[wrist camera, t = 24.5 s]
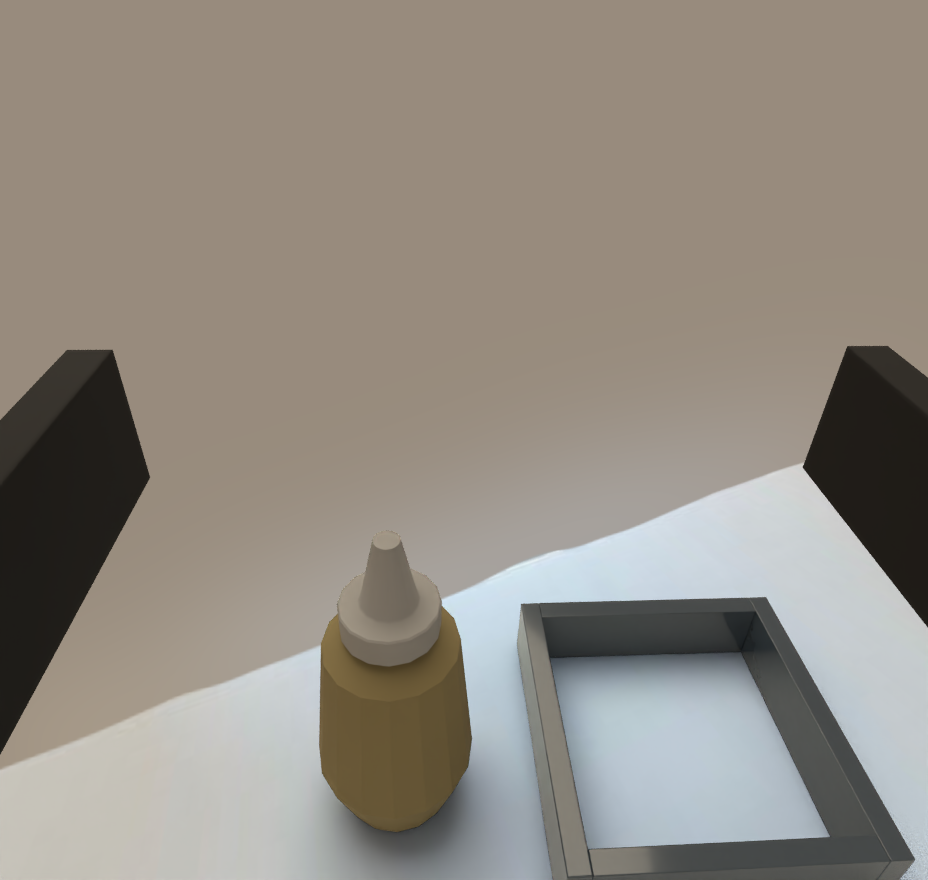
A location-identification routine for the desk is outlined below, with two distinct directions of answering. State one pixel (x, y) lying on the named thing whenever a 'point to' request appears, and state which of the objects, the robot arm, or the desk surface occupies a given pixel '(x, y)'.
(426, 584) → the squeeze bottle
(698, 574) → the desk surface
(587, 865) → the grey open square frame
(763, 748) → the desk surface
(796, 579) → the desk surface
